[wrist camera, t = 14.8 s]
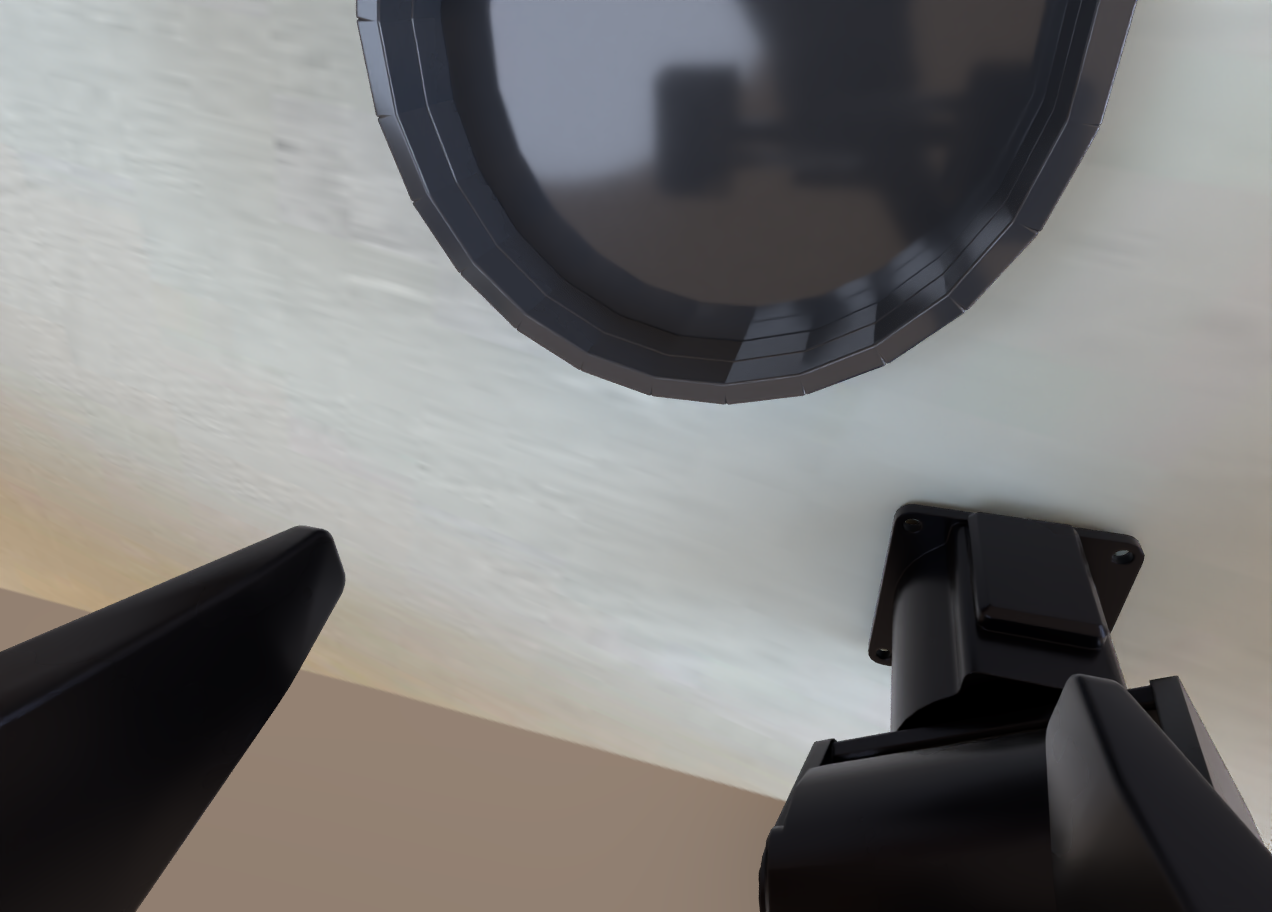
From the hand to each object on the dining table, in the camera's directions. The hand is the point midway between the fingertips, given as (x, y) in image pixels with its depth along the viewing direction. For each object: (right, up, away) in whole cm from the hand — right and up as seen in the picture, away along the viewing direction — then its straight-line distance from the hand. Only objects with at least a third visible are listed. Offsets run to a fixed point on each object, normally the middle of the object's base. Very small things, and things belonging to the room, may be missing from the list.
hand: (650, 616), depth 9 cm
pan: (+2, +11, +8) cm, 14 cm away
